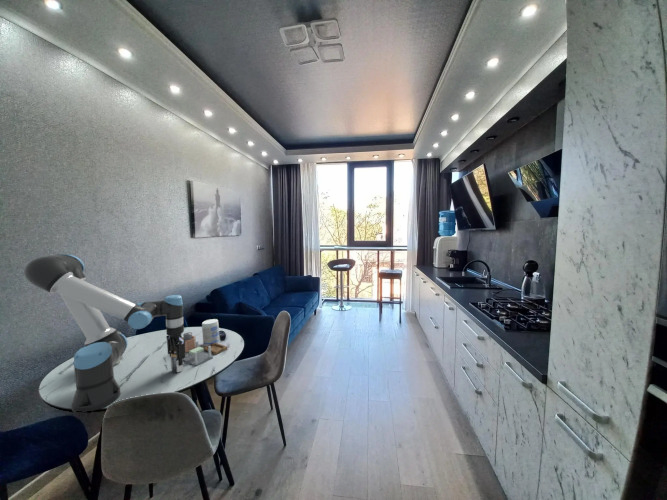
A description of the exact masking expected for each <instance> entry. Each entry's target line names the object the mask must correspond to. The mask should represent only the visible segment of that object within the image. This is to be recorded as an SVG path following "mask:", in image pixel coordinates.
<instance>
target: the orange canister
mask: <svg viewBox="0 0 667 500" xmlns="http://www.w3.org/2000/svg"><path fill="white" fill-rule="evenodd" d="M182 335H183V336H182V339H183V340H184V339H185V354H186V353H189V351H190V350H193V349H195V348H196V342H197V341H196V336H195V335H193V332H191V331H190V332H189V331H188V332H185V333H182Z"/></svg>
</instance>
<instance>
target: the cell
mask: <svg viewBox="0 0 667 500" xmlns="http://www.w3.org/2000/svg"><path fill="white" fill-rule="evenodd" d="M176 359H177V355H176V351H174V352H172V353H171V357H170V368H171V367H172V369H171V373H174V374H175V373H178V372H177V367H176Z"/></svg>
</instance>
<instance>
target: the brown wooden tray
mask: <svg viewBox="0 0 667 500" xmlns="http://www.w3.org/2000/svg"><path fill="white" fill-rule="evenodd" d="M208 346H211V355H215V356H216V355H218V354H221V353H222V352H225V351H227V350H228V346H226V345H224V344H220V343H213V344H210V345H208ZM208 346H203V347H202V348H204V351H203V352H207V353H208Z"/></svg>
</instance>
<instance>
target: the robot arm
mask: <svg viewBox="0 0 667 500" xmlns="http://www.w3.org/2000/svg"><path fill="white" fill-rule="evenodd" d="M84 270H85V264H84V262H83V260H81V258H79V257H77V256H75V255H73V254H67V253H66V254H64V253H59V254H54V255H53V254H52V255H49V256H41V257H36V258H34V259H32V260H31V261H28V263H27V264H26V266H25V267H24V271H23V274H24V277H25V278H24V279H26V281H28V282H29V283H30V284H31V285H33V286H35V287H36V288H38V289H41V290H43V291H46V292H48V293H50V294H55V293H58V294H59V295H60V297H61V299H62V301H63V302H64V303H65V306H66V307H67V308H68V310H69V312H70V315H72V317H73V319H74V320H75V322H76V323H77V325H78V326H79V328H80V330H81V332H82V333H83V335H84V336H85V338H86V340H85V341H84V346H83V347H81V348H79V350H77V351H76V352H75V353H74V354H73V361H72V364H73V368H74V369H73V371H74V378H75V389H76V390H75V393H74V396H73V399H72V402H71V411H72V412H73V413H75V414H86V413H88V412H87V411H91V412H95V411H97V410H100V409H102V408H105V407H106V406H109V405H110V404H112V403H113V402H114V401H115V402H116V400H117V399H118V398H119V397H120V396H121V387H120V385H119V384H118V382H117V380H116V379H115V375H114V374H115V373H114V372H115V371H114V366H113V364H114V363H115V362H116V361H117V360H118V358H119V357H120V356H122V355H124V353H125V352H126V350H127V348H128V342H129V341H128V339H127V337H126V336H125V335H124V334H123V333H121V334H120V333H118V332H119V331H118V330H117V329H116V328H113V327H112V328H111V327H110V326H109V324H108V322H107V320H106V318H105V316H104V315H103V313H102V312H104V313H107V314H108V315H111V316H113V317H115V318H118V319H120V320H123V321H125V322H127V323H128V325H129V327H130V328H131V329H134V330H141V329H144V328H146V327H147V326H148V325H149V324H151V323H152V322H153V320H154V318H156V317H164V316H165V327H166V329H165V330H166V331H165V332H166V345H167V346H166V347H167V348H166V349H167V355H169V357H170V358H171V353H172V352H174V351H176V355H177V359H176V367H177V372H176V373H180V372H182V371H184V365H183V363H184V361H183V358H185V356H186V353H185V339H184V340H183V339H182V337H183V336H182V335H183V334H184V332H185V326H184V318H185V317H184V303H183V297H182V296H181V295H180V294H172V295H167V296H166V297H164V300H155V301H154V300H153V301H144V302H138V303H137V304H136V303H134V302H132V301H130V300H128V299H126V298H123V297H122V296H119V295H116V294H114V293H112V292H110V291H108V290H106V289H103V288H100V287H99V286H96V285H94V284H92V283H90V282H87V281H86V279H87V277H86V275H85V274H84ZM117 331H118V332H117ZM170 369H171V370H172V367H171V366H170ZM76 411H82V412H76Z"/></svg>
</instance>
